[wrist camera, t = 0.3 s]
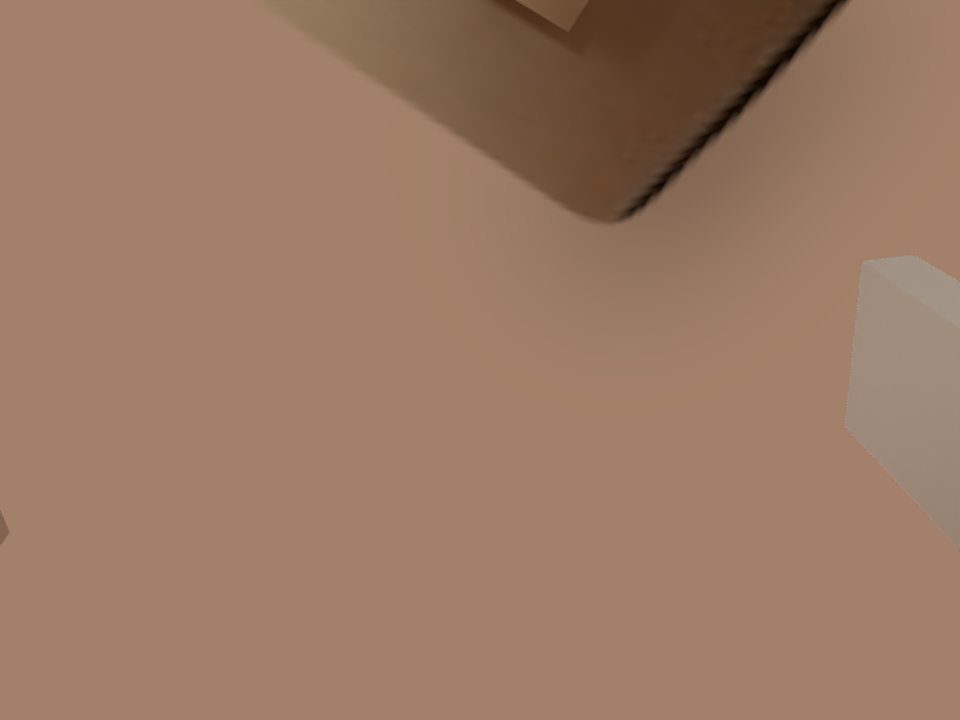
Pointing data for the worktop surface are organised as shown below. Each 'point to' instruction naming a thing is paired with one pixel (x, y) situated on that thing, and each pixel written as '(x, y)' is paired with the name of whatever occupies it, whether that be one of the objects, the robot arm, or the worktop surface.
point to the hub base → (557, 10)
